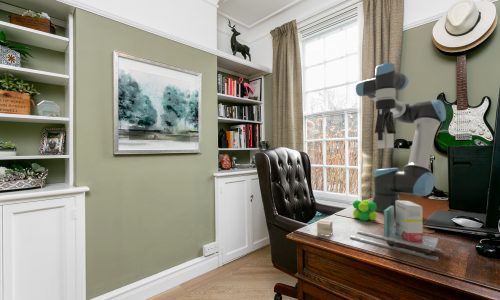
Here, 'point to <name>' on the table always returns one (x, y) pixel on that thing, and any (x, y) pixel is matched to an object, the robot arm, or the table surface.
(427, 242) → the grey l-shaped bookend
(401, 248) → the track
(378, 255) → the table surface
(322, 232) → the beech block
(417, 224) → the ink box
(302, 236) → the table surface
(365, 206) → the molecule model
